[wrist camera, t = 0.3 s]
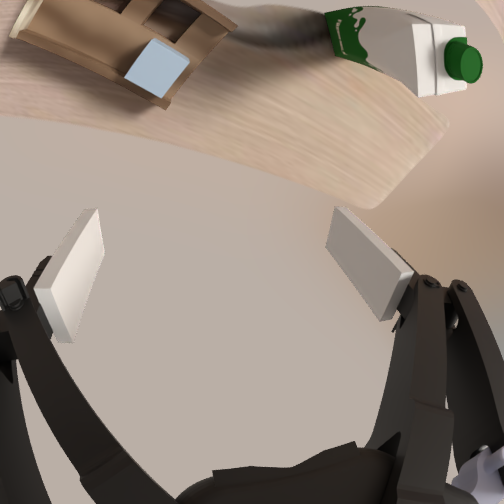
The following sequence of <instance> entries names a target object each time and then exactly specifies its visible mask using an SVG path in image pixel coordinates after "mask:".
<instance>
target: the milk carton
mask: <svg viewBox="0 0 504 504" xmlns="http://www.w3.org/2000/svg"><path fill="white" fill-rule="evenodd" d="M324 14H325V17H326V21H327V25H328V29H329V32H330V36H331V40H332V45H333V49H334V53H335V56H337V57H341V58H344V59H347V60H350V61H354V62H357V63H360V64H362V65H365V66H368V67H370V68H372V69H375V70H377V71H379V72H381V73H384V74H386V75H388V76H390V77H392V78H394V79H396V80H398V81H400V82H402V83H403V84H404V85H405V86H406V87H407V88H408V89H410V90H411V91H412V92H413V93H414V94H415V95H416V96H417V97H418V98H419V97H423V96H429V95H442V94H444V93H450V92H456V91H461V90H466V89H467V83H475V82H476V81H477V80H478V79H479V78H480V75H481V73H482V68H483V63H482V57H481V54H480V53H479V51H478V50H477V49H476V48H474V47H472V46H469V45H467V38H466V31H465V26H462V25H460V24H457V23H454V22H451V21H448V20H445V19H442V18H438V17H434V16H430V15H426V14H421V13H417V12H412V11H407V10H401V9H395V8H388V7H379V6H363V7H353V8H346V9H341V10H336V11H331V12H326V13H324Z"/></svg>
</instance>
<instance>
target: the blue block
mask: <svg viewBox="0 0 504 504" xmlns="http://www.w3.org/2000/svg"><path fill="white" fill-rule="evenodd" d="M189 63H190V61H189V58H188V57H186V56H184V55H183V54H181V53H180V52H178V51H176V50H175V49H173V48H171V47H170V46H168V45H166V44H165V43H163V42H161V41H160V40H158V39H156V38H154V39H152V40H151V41H150V42H149V44H148V45H147V46H146V48H145V49H144V50H143V52H142V53H141V54H140V56H139V57H138V58H137V60H136V61H135V63H134V64H133V65H132V67H131V68H130V70H129V71H128V73H127V74H126V76H125V77H124V78H125V79H127V80H129V81H131V82H133V83H135V84H137V85H138V86H140V87H142V88H144V89H146V90H147V91H149V92H151V93H153V94H154V95H156V96H158V97H160V98H161V99H162V97H163V96H164V95H165V93H166V92H167V91H168V89H169V88H170V87H171V85H172V84H173V83H174V81H175V80H176V79H177V78H178V76H179V75H180V74H181V73H182V71H183V70H184V69H185V68H186V67H187V65H188V64H189Z"/></svg>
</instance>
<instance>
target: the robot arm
mask: <svg viewBox="0 0 504 504" xmlns="http://www.w3.org/2000/svg"><path fill="white" fill-rule="evenodd" d="M326 249H327V250H328V251H329V252H330V254H331V255H332V257H333V258H334V259H335V260H336V262H337V263H338V265H339V266H340V267H341V269H342V270H343V271H344V273H345V274H346V275H347V277H348V278H349V279H350V281H351V282H352V283H353V285H354V286H355V288H356V289H357V290H358V292H359V293H360V295H361V296H362V297H363V299H364V300H365V301H366V303H367V304H368V306H369V307H370V309H371V310H372V311H373V313H374V314H375V316H376V317H377V318H378V320H379V321H385V320H390V319H392V318H393V316H394V314H395V312H396V310H398V311H399V313H400V314H401V315H400V317H399V318H398V320H397V322H396V324H395V326H394V328H393V330H392V332H394V330H396V334H395V340H394V346H393V351H392V357H391V362H390V367H389V372H388V376H387V381H386V385H385V389H384V393H383V398H382V401H381V405H380V409H379V412H378V416H377V419H376V423H375V426H374V430H373V433H372V435H371V438H370V440H369V441H368V443H367V444H366V446H365V447H364V448H357V445H356V443H355V441H353V442H350V443H347V444H344V445H341V446H338V447H335V448H331V449H328V450H324V451H322V452H320V453H319V454H317V455H315V456H313V457H311V458H309V459H308V460H306V461H304V462H302V463H300V464H298V465H296V466H294V467H290V468H277V467H255V466H248V467H240V468H232V469H222V470H213V471H212V472H213V477H210V478H206V479H204V480H201V481H199V482H197V483H195V484H193V485H192V486H190V487H188V488H187V489H186V490H185V491H183V492H182V493H181V494H180V495H179V496H178V497H177V498H176V499H174V498H173V497H172V496H170V495H169V494H168V493H167V492H166V491H165V490H164V489H163V488H162V487H161V486H160V485H158V484H157V483H156V482H155V481H154V480H153V479H152V478H151V477H150V476H149V475H148V474H147V473H146V472H145V471H144V470H143V469H142V468H141V467H140V466H139V464H138V463H137V462H136V461H135V460H134V459H133V458H132V457H131V456H130V455H129V454H128V453H127V452H126V450H125V449H124V448H123V447H122V446H121V445H120V443H119V442H118V441H117V440H116V439H115V437H114V436H113V435H112V434H111V432H110V431H109V430H108V429H107V428H106V426H105V425H104V423H103V422H102V421H101V419H100V418H99V417H98V416H97V414H96V413H95V411H94V410H93V409H92V407H91V406H90V404H89V403H88V402H87V400H86V399H85V397H84V396H83V394H82V393H81V391H80V390H79V388H78V387H77V385H76V384H75V382H74V380H73V379H72V377H71V376H70V374H69V372H68V371H67V369H66V367H65V366H64V364H63V362H62V361H61V359H60V357H59V355H58V353H57V352H56V350H55V348H54V346H53V344H52V342H51V341H50V339H51V337H52V333H54V335H55V337H56V339H57V341H58V342H62V343H74V340H75V337H76V334H77V330H78V327H79V324H80V320H81V317H82V314H83V311H84V308H85V305H86V302H87V299H88V296H89V294H90V291H91V288H92V285H93V283H94V280H95V277H96V275H97V272H98V269H99V267H100V264H101V262H102V259H103V257H104V254H105V251H104V246H103V240H102V234H101V228H100V223H99V216H98V209H97V208H96V209H95V208H94V209H85V210H84V211H83V212H82V213H81V215H80V216H79V218H78V219H77V220H76V222H75V223H74V225H73V226H72V227H71V229H70V230H69V232H68V233H67V235H66V236H65V238H64V239H63V241H62V242H61V244H60V245H59V247H58V248H57V250H56V251H55V253H54V254H53V256H47V257H46V258H45V259H43V260H42V261H41V262H40V263H39V265H38V267H37V268H36V271H34V273H33V275H32V277H31V278H30V280H29V281H28V283H27V285H26V286H25V285H24V282H23V279H22V278H21V277H20V276H17V275H15V276H9V277H7V278H5V279H3V280H2V281H1V282H0V306H1V309H2V310H0V504H52V503H51V501H50V498H49V496H48V494H47V491H46V489H45V486H44V483H43V481H42V478H41V475H40V472H39V469H38V466H37V463H36V460H35V457H34V454H33V450H32V447H31V443H30V439H29V435H28V431H27V427H26V423H25V418H24V413H23V409H22V404H21V397H20V390H19V383H18V375H17V367H16V359H18V360H19V363H20V365H21V368H22V370H23V373H24V375H25V378H26V380H27V382H28V385H29V387H30V389H31V391H32V394H33V395H34V398H35V400H36V402H37V404H38V406H39V408H40V410H41V412H42V414H43V416H44V418H45V419H46V421H47V423H48V425H49V427H50V429H51V431H52V432H53V434H54V436H55V437H56V439H57V441H58V442H59V444H60V446H61V447H62V449H63V450H64V452H65V454H66V455H67V457H68V458H69V460H70V461H71V463H72V464H73V465H74V467H75V469H76V470H77V471H78V473H79V475H80V482H81V484H82V486H83V487H84V489H85V490H86V491H87V493H88V494H89V495H90V497H91V498H92V499H93V500H94V502H95V503H96V504H498V503H499V502H500V501H501V500H502V499H503V498H504V361H503V358H502V355H501V353H500V350H499V347H498V345H497V343H496V340H495V338H494V335H493V333H492V331H491V328H490V326H489V324H488V322H487V320H486V318H485V315H484V313H483V311H482V309H481V307H480V305H479V303H478V301H477V299H476V297H475V295H474V293H473V291H472V290H471V288H470V287H469V286H468V285H467V283H465V282H463V281H460V280H453V281H452V283H451V285H450V287H449V288H447V287H442V286H441V284H440V283H439V281H437V280H436V279H435V278H433V277H431V276H429V275H419V274H418V273H417V272H416V271H415V270H414V269H413V268H412V267H411V266H410V265H409V264H408V263H407V262H406V261H405V260H404V259H403V258H401V256H400V255H399V254H398V253H397V252H396V251H395V250H393V249H392V248H390V247H389V246H388V245H387V244H386V243H385V242H383V240H381V238H380V237H378V236H377V235H376V234H375V233H374V232H373V231H372V230H371V229H370V228H369V227H368V226H367V225H366V224H365V223H363V222H362V221H361V220H360V219H359V218H358V217H357V216H356V215H355V214H353V213H352V212H351V211H350V210H349V209H348V208H347V207H339V206H335V209H334V213H333V217H332V221H331V226H330V230H329V234H328V239H327V243H326ZM457 319H458V325H457V327H456V328H455V325H454V324H455V323H456V321H457ZM446 397H447V402H448V408H449V409H446V408H445V399H446ZM452 443H453V451H454V458H455V463H456V467H457V471H458V476H456V477H455V478H453V480H452V485H450V484H448V483H446V476H447V472H448V466H449V460H450V453H451V445H452Z"/></svg>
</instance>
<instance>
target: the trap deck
mask: <svg viewBox="0 0 504 504" xmlns="http://www.w3.org/2000/svg"><path fill="white" fill-rule="evenodd" d="M163 1H164V0H131V2H130V3H129V4H128V5H127V7H126V8H125V9H124V10H123V12H122V13H119V12H117V11H115V10H113V9H110V8H108V7H106V6H104V5H102V4H99V3H97V2H95V1H94V0H28V1H27V3H26V4H25V6H24V8H23V10H22V11H21V13H20V15H19V17H18V19H17V21H16V22H15V24H14V26H13V28H12V30H11V32H10V35H9V37H11V38H17V39H20V40H22V41H25V42H28V43H30V44H33V45H35V46H38V47H40V48H42V49H45V50H47V51H50V52H52V53H54V54H56V55H59V56H61V57H63V58H65V59H68V60H70V61H72V62H74V63H76V64H79V65H81V66H83V67H85V68H87V69H89V70H91V71H93V72H95V73H97V74H99V75H101V76H103V77H105V78H107V79H109V80H111V81H113V82H115V83H117V84H119V85H121V86H123V87H125V88H126V89H128V90H130V91H132V92H134V93H136V94H138V95H139V96H141V97H143V98H145V99H147V100H148V101H150V102H152V103H154V104H156V105H157V106H159V107H161V108H163V109H164V110H166V109H167V108H168V106H169V105H170V104H171V99H172V97H173V96H174V95H175V93H176V92H177V91H178V89H179V88H180V87H181V86H182V84H183V83H184V82H185V81H186V79H187V78H188V77H189V76H190V74H191V73H192V72H193V71H194V70H195V68H196V67H197V66H198V65H199V64H200V63H201V61H202V60H203V59H204V58H205V57H206V56H207V55H208V54H209V52H210V51H211V50H212V49H213V48H214V47H215V46H216V45H217V44H218V43H219V42H220V41H221V39H222V38H223V37H224V36H225V35H226V34H227V33H228V32H229V31H230V32H233V31H234V30H235V29H236V28H237V27H238V26H237V25H236V24H235V23H233V22H232V21H231V20H229V19H228V18H226V17H225V16H224V15H222V14H221V13H219V12H218V11H216V10H215V9H213V8H212V7H210V6H209V5H207V4H206V3H204V2H203V1H201V0H180V1H181V2H183V3H185V4H186V5H188V6H190V7H191V8H193V9H194V10H196V11H198V12H199V13H201V15H200V16H199V17H198V18H197V19H196V20H195V21H194V22H193V23H192V24H191V25H190V26H189V28H188V29H187V30H186V31H185V32H184V33H183V34H182V36H181V37H180V38H179V39H178V40H177V41H176V43H174V42H172V41H171V40H169V39H167V38H166V37H164V36H162V35H160V34H159V33H157V32H155V31H153V30H152V29H150V28H148V27H146V26H144V25H143V24H144V23H145V22H146V21H147V19H148V18H149V17H150V16H151V15H152V13H153V12H154V11H155V10H156V9H157V8H158V6H159V5H160V4H161V3H162V2H163ZM154 38H156V39H158V40H160V41H161V42H163V43H165V44H166V45H168V46H170V47H171V48H173V49H175V50H176V51H178V52H180V53H181V54H183V55H184V56H186V57H188V58H189V61H190V63H189V64H188V65H187V67H186V68H185V69H184V70H183V71H182V73H181V74H180V75H179V76H178V78H177V79H176V80H175V81H174V83H173V84H172V85H171V87H170V88H169V89H168V91H167V92H166V93H165V95H164V96H163V97H162V99H161V98H160V97H158V96H156V95H154V94H153V93H151V92H149V91H147V90H146V89H144V88H142V87H140V86H138V85H137V84H135V83H133V82H131V81H129V80H127V79H125V78H124V77H125V76H126V74H127V73H128V71H129V70H130V68H131V67H132V65H133V64H134V63H135V61H136V60H137V58H138V57H139V56H140V54H141V53H142V52H143V50H144V49H145V48H146V46H147V45H148V44H149V42H150V41H151V40H152V39H154Z"/></svg>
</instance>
